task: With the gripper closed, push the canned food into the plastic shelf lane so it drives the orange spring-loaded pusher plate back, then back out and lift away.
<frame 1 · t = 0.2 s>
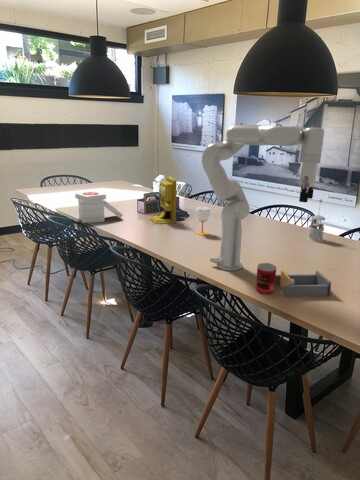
hand: (305, 200, 165), 37 cm above the table, tool pointing down, fingers open, 9 cm apart
pusher: (288, 282, 165), point 4 cm above the table, slide at 0.0 cm
canned food: (264, 291, 165), on the table
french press: (315, 239, 239), on the table
lane: (301, 289, 167), on the table
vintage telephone: (161, 220, 274), on the table
cup: (202, 233, 246), on the table
pizza boxes: (99, 219, 274), on the table
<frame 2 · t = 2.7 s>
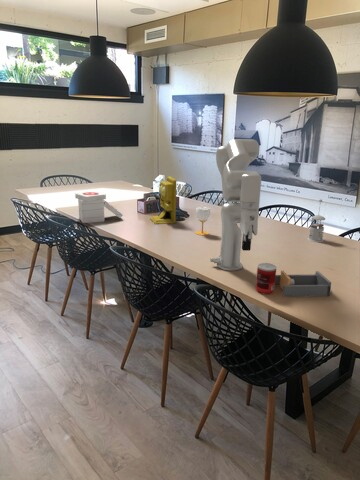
hand: (246, 249, 159), 18 cm above the table, tool pointing down, fingers closed
nothing on the table moved.
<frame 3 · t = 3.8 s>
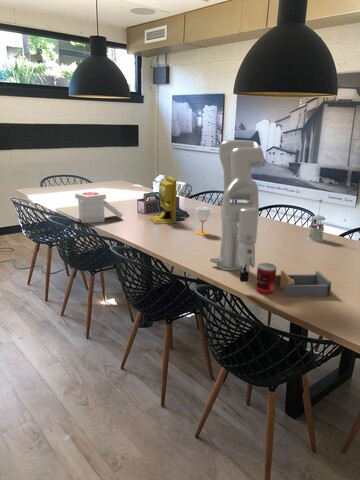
hand: (243, 280, 162), 5 cm above the table, tool pointing down, fingers closed
nothing on the table moved.
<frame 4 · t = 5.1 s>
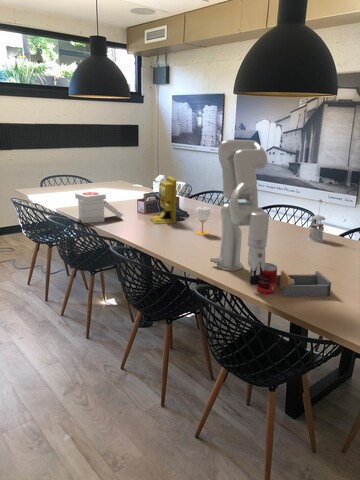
hand: (253, 283, 164), 3 cm above the table, tool pointing down, fingers closed
canned food: (265, 290, 165), on the table, touching gripper
everything else where it was.
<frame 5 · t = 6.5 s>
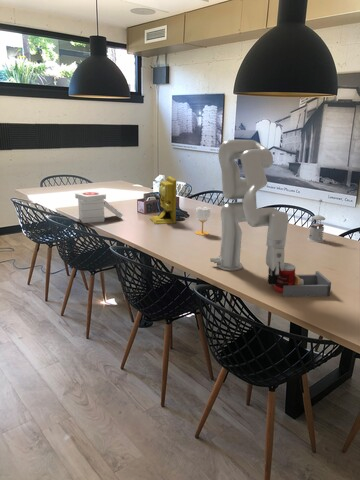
hand: (271, 283, 165), 3 cm above the table, tool pointing down, fingers closed
pusher: (297, 282, 165), point 4 cm above the table, slide at 4.0 cm, touching canned food
canned food: (283, 290, 166), on the table, touching gripper, pusher
everything else where it was.
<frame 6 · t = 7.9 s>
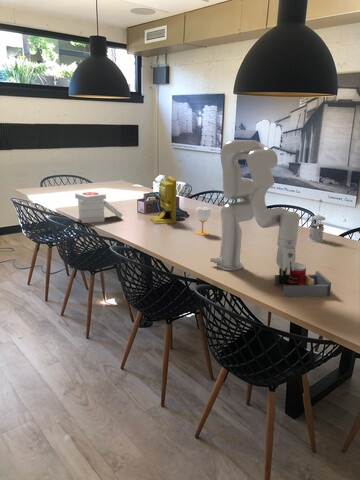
hand: (282, 283, 165), 3 cm above the table, tool pointing down, fingers closed
pusher: (308, 282, 166), point 4 cm above the table, slide at 8.6 cm, touching canned food
canned food: (293, 290, 167), on the table, touching gripper, pusher
everything else where it was.
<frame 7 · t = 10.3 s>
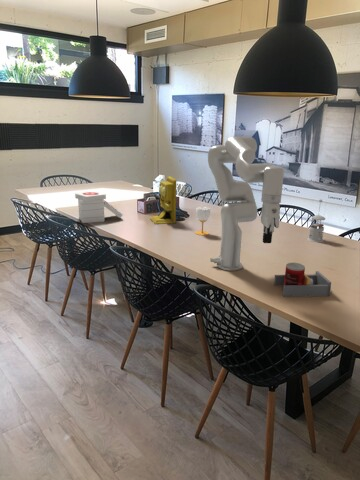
hand: (266, 242, 159), 21 cm above the table, tool pointing down, fingers closed
pusher: (307, 282, 166), point 4 cm above the table, slide at 8.1 cm, touching canned food
canned food: (292, 290, 167), on the table, touching pusher
everything else where it was.
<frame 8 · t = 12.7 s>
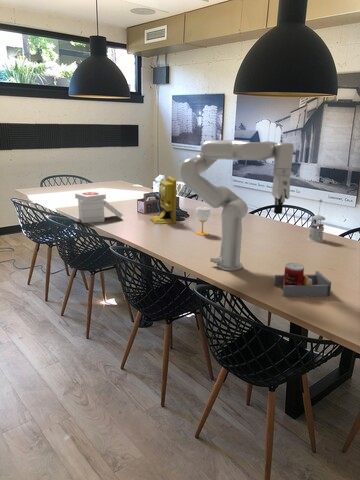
hand: (277, 213, 175), 29 cm above the table, tool pointing down, fingers closed
pusher: (306, 282, 166), point 4 cm above the table, slide at 7.7 cm, touching canned food
everything else where it was.
at the end: canned food inside the target area (0.4 cm from its centre), on the table; pusher slide at 7.7 cm; canned food tilted 0° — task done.
